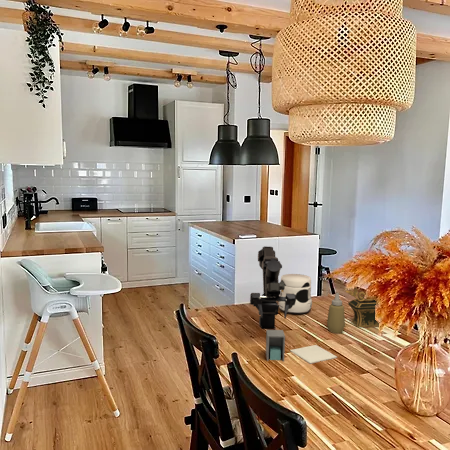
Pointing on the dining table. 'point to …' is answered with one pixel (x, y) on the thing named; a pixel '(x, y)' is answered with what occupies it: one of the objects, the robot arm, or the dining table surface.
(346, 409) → the dining table surface
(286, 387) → the dining table surface
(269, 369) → the dining table surface
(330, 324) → the squeeze bottle
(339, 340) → the dining table surface
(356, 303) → the decorative box
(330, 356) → the cream square tile
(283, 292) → the cream spotted cookie jar
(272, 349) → the teal cube
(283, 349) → the charcoal hood
